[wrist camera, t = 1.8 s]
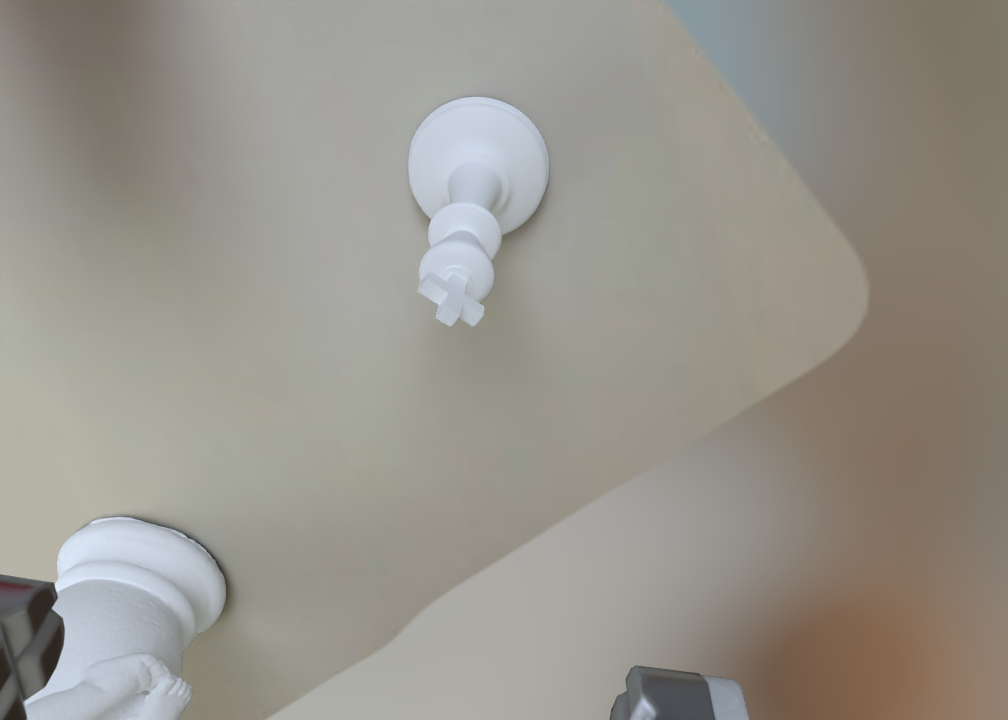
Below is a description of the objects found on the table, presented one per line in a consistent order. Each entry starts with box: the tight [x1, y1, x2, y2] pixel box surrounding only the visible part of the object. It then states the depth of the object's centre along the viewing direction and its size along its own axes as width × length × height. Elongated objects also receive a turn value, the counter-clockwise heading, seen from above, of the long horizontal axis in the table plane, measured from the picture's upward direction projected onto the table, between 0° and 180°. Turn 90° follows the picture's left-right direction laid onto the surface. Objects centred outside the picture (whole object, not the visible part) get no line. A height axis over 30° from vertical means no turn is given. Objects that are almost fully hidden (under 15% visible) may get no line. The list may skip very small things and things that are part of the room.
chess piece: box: [408, 97, 549, 327], centre depth 23 cm, size 5×5×10 cm
